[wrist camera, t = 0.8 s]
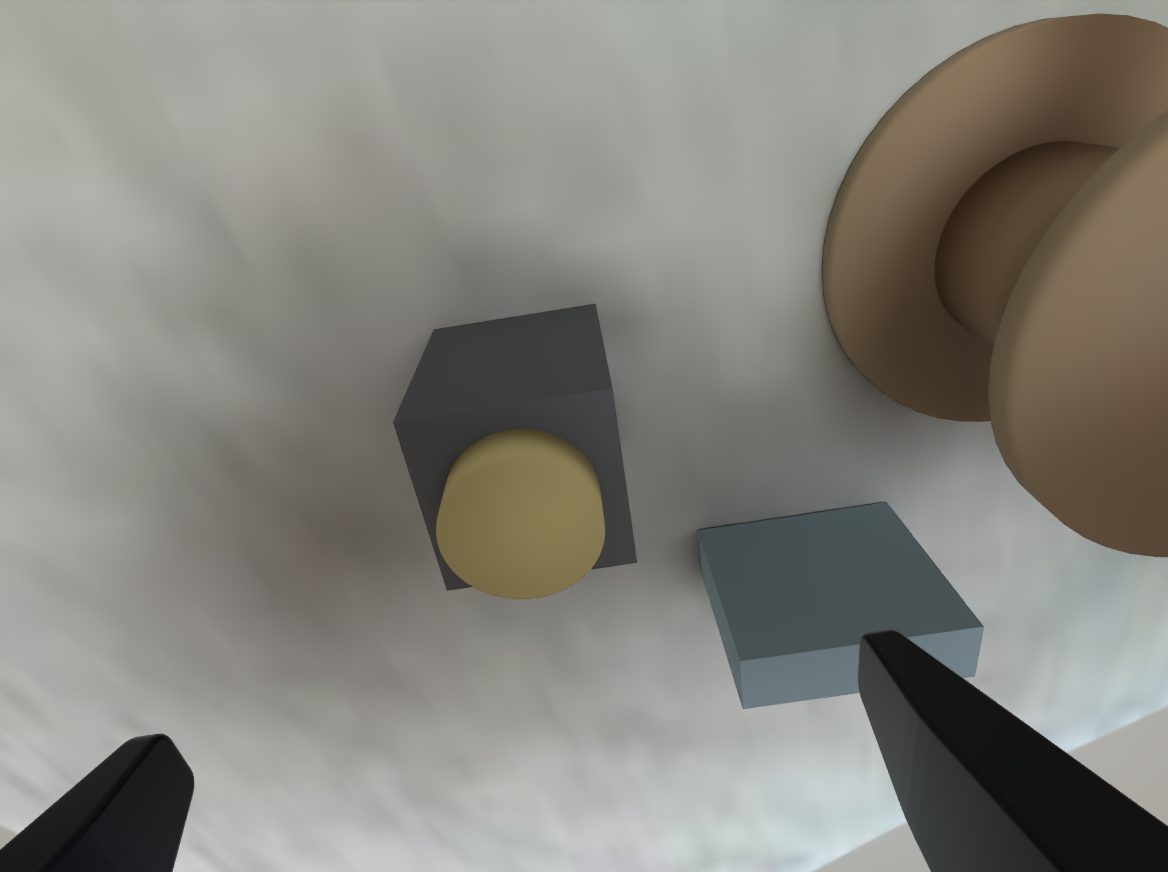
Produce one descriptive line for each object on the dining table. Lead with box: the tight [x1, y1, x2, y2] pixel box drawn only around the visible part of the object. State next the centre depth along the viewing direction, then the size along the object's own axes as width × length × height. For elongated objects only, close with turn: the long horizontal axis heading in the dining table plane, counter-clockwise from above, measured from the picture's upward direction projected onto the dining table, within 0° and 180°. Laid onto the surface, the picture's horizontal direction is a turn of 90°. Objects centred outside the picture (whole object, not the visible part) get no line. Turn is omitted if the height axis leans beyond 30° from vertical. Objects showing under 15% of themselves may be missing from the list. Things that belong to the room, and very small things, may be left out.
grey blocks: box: [698, 502, 984, 709], centre depth 18 cm, size 18×2×5 cm, turn 99°
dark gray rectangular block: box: [393, 304, 637, 599], centre depth 15 cm, size 4×4×6 cm
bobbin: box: [822, 14, 1168, 557], centre depth 13 cm, size 9×9×7 cm
